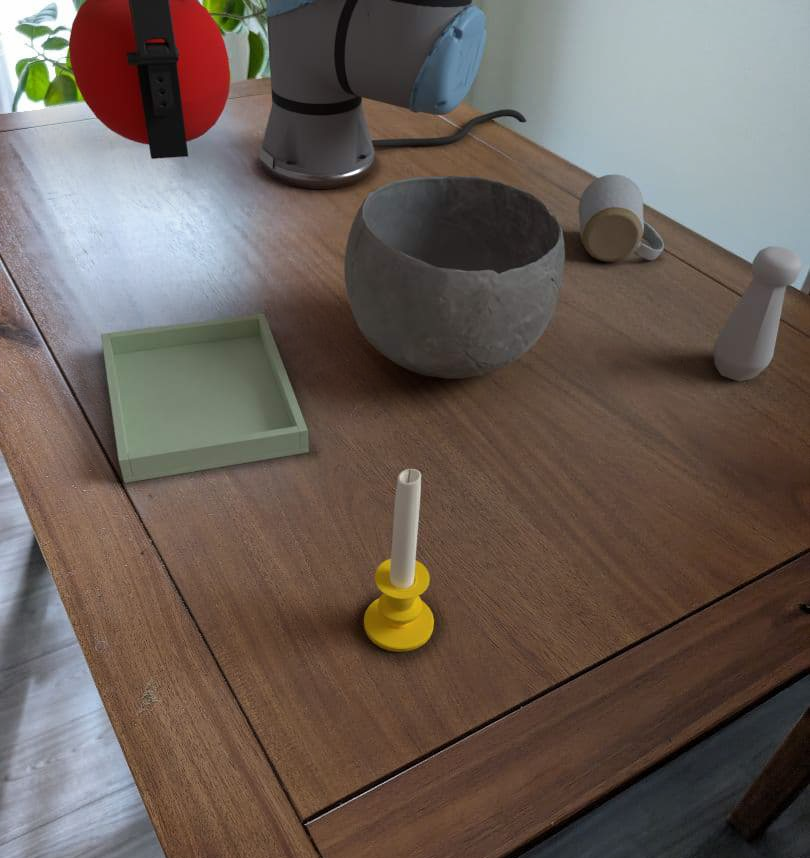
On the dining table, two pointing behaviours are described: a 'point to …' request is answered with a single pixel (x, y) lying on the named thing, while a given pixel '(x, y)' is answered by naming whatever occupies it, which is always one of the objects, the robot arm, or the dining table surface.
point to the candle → (402, 579)
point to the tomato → (118, 83)
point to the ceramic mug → (616, 221)
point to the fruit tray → (200, 397)
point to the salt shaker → (756, 316)
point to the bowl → (453, 273)
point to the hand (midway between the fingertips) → (160, 123)
